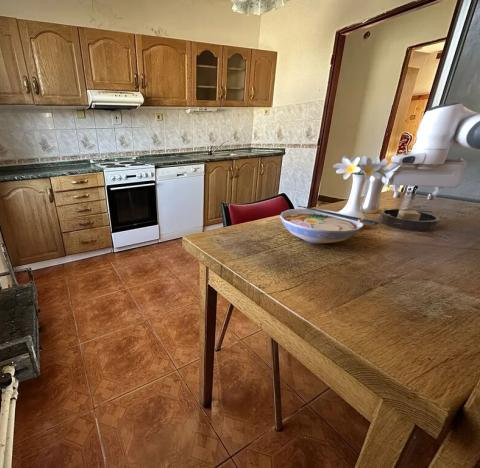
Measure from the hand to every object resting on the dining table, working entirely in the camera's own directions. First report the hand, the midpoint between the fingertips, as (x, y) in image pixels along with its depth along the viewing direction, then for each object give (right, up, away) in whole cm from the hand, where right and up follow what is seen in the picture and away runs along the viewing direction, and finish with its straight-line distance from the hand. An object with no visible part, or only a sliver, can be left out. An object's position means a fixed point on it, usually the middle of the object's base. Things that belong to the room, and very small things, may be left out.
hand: (413, 198), depth 90 cm
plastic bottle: (-2, -4, +18) cm, 19 cm away
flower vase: (-21, -10, +3) cm, 23 cm away
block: (0, -9, +3) cm, 9 cm away
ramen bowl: (-39, -14, -7) cm, 42 cm away
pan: (0, -9, +3) cm, 10 cm away
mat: (+14, -5, +14) cm, 20 cm away
